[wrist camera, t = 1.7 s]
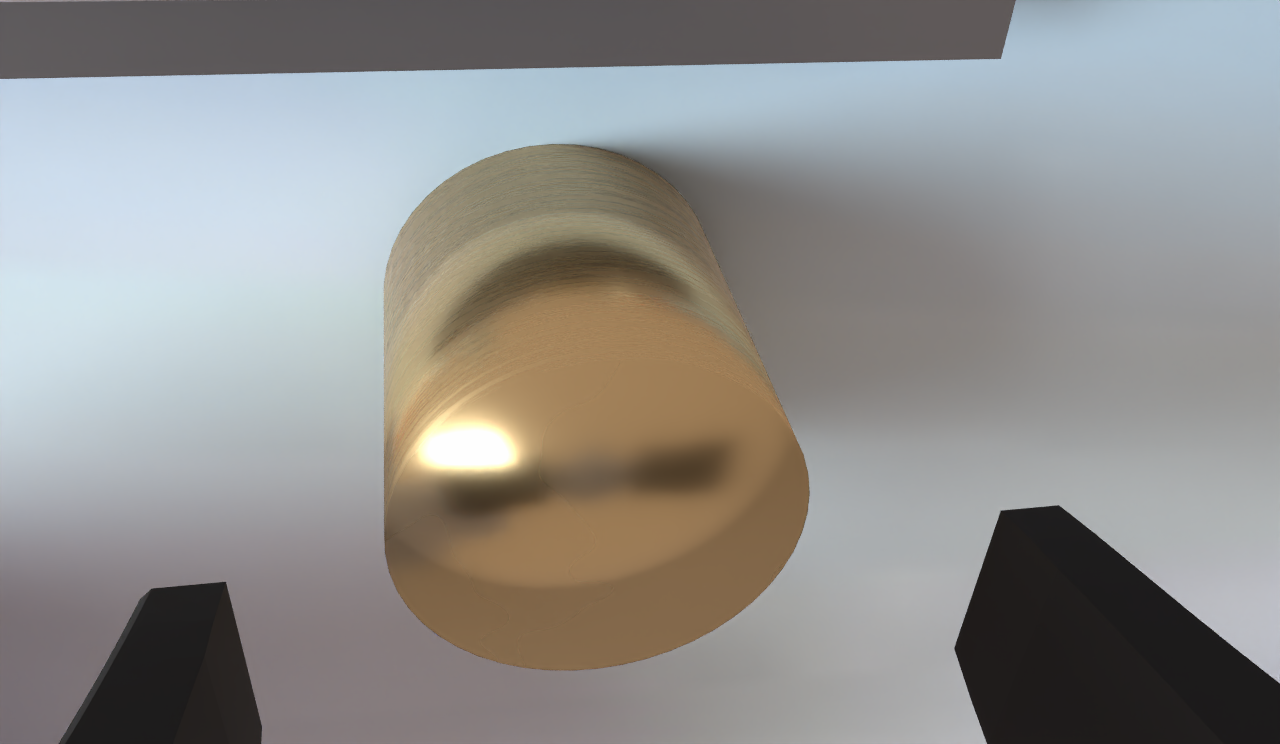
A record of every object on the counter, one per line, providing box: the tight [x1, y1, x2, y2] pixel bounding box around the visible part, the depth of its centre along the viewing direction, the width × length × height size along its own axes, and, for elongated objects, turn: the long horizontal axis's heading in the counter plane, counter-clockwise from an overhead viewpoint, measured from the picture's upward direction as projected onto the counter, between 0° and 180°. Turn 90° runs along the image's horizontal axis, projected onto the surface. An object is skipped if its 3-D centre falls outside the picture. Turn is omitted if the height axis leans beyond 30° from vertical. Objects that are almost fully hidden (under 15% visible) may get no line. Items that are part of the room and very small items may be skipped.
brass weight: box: [384, 144, 809, 670], centre depth 13 cm, size 4×4×4 cm
